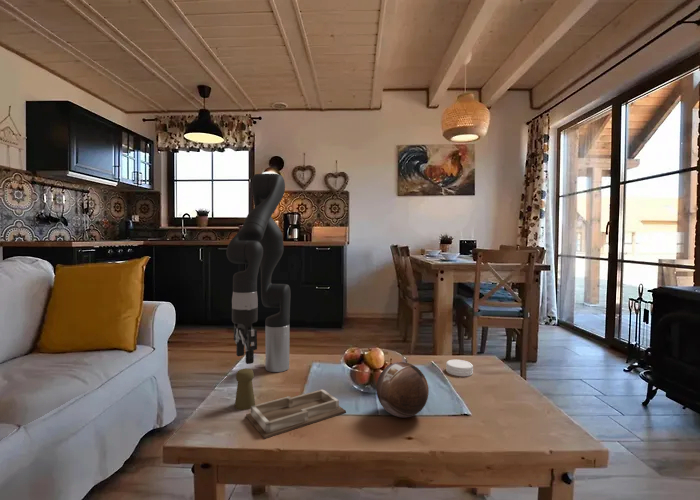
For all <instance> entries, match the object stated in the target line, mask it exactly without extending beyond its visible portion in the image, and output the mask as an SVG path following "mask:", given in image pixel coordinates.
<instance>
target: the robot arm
mask: <svg viewBox="0 0 700 500" xmlns="http://www.w3.org/2000/svg"><path fill="white" fill-rule="evenodd" d="M285 190H286V183H285V179H284V177H283V175H281V174H279V173H256V174H253V176H252V178H251V193H252V199H253V200H252V201H253V205H254V208H252V209H251V210H250V211H249V213H248V214H247V215H246V218H245V219H244V222H243V224H242V227H241V228H240V230H239V231H238V232H237V233H236V234H235V235H234V237H232V239H231V240H230V241H229V243H228V245H227V247H226V257H227V259H228V261H229V262H230V263H232V264H236V265H237V264H238V265H240V264H241V265H243V264H247V265H248V266H247V268H246V269H245V270H241V271H237V272H235V273H234V274H233V276H232V296H231V321H232V323H233V341H234V342H235V345H236V349H235V350H236V353H235V354H236V356H237V357H242V356H244V355H245V364H247V365H251V364H253V363H254V362H255V361H254V359H255V357H254V356H255V355H254V354H255V351H256V350H258V333H257V332H258V331H257V328H253V324H255V323H257V322H258V319H259V318H258V316H259V315H258V312H259V311H258V310H259V307H258V306H259V305H258V304H259V303H258V302H259V298H258V297H259V296H258V276H259V275H258V274H259V272H260V298H261V303H262V305H263V307H265V308H275V309H279V311H278V312H277V313H275V314H272V315H269V316H267V317H266V318H265V322H264V323H265V324H264V325H265V361H264V363H265V369H264V370H265V371H267V372H270V373H281V372H285V371H287V370H289V369H290V319H291V316H290V315H291V296H292V295H291V287H290V285H289V284H286V283H272V275H273V273H274V271H275V268H276V266H277V265H278V264H279V261H280V260H281V258H282V256H283V254H284V250H285V249H284V236H283V232H282V230H281V229H280V227H279V225H278V224H277V223H276V222H275V220H274V218H273V217H272V216H273V214H274V212H275V211H276V209H277V208H278V206H279V205H280V203H281V201H282V199H283V197H284V195H285V192H286V191H285Z"/></svg>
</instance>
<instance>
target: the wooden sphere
mask: <svg viewBox="0 0 700 500" xmlns="http://www.w3.org/2000/svg"><path fill="white" fill-rule="evenodd" d="M429 395H430V394H429V384H428V380H427V378H426V376H425V374H424V373H423V372H422V370H420V369H419V368H418V367H417V366H416V365H413V364H411V363H409V362H406V361H405V362H404V361H400V362H398V361H397V362H394V363H391V364H389V365H387V366H386V367H385V368H384V369H383V370H382V371H381V372H380V374H379V376H378V378H377V381H376V396H377V399H378V402H379V403H380V405H381V406H382V408H383V409H384V410H385V411H386V412H387V413H388V414H390V415H392V416H395V417H398V418H411V417H413V416H416V415H417V414H418V413H420V412H421V411H422V410H423V409H424V407H425V405H427V403H428V399H429Z"/></svg>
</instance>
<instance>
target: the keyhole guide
mask: <svg viewBox="0 0 700 500" xmlns="http://www.w3.org/2000/svg"><path fill="white" fill-rule="evenodd" d="M346 413H347V410H346V409H345V408H343V407H342V406H340V400H339V399H338V398H336V397H335V396H334V395H332V394H330V393H329V392H328V391H326V390H325V389H323V388H322V389H318V390H315V391H310V392H306V393H303V394H299V395H296V396H292V397H291V396H290V395H287V396H285V397H281V398H276V399H273V400H269V401H266V402H262V403H258V404H255V405H254V406H251V409H250V413H246V418H247V419H248V420H249V422H250V423H251V424H252V426H253V427H254V428H255V429H256V430H257V431H258V433H259V434H260V436H262V438H263V439H264V440H265V439H268V438H271V437H275V436H277V435H280V434H284V433H287V432H290V431H293V430H296V429H300V428H302V427H305V426H308V425H311V424H316V423H318V422H321V421H324V420H327V419H330V418H333V417H336V416H340V415H343V414H346Z"/></svg>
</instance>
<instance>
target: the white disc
mask: <svg viewBox="0 0 700 500" xmlns="http://www.w3.org/2000/svg"><path fill="white" fill-rule="evenodd" d="M445 364H446V365H445V368H446V369H445V370H446V372H447V373H448V374H449V375H452V376H455V377H470V376H472V375H473V373H474V365H473V364H472V363H471V362H470V361H467V360H463V359H449V360H447V361H446V363H445Z"/></svg>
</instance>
